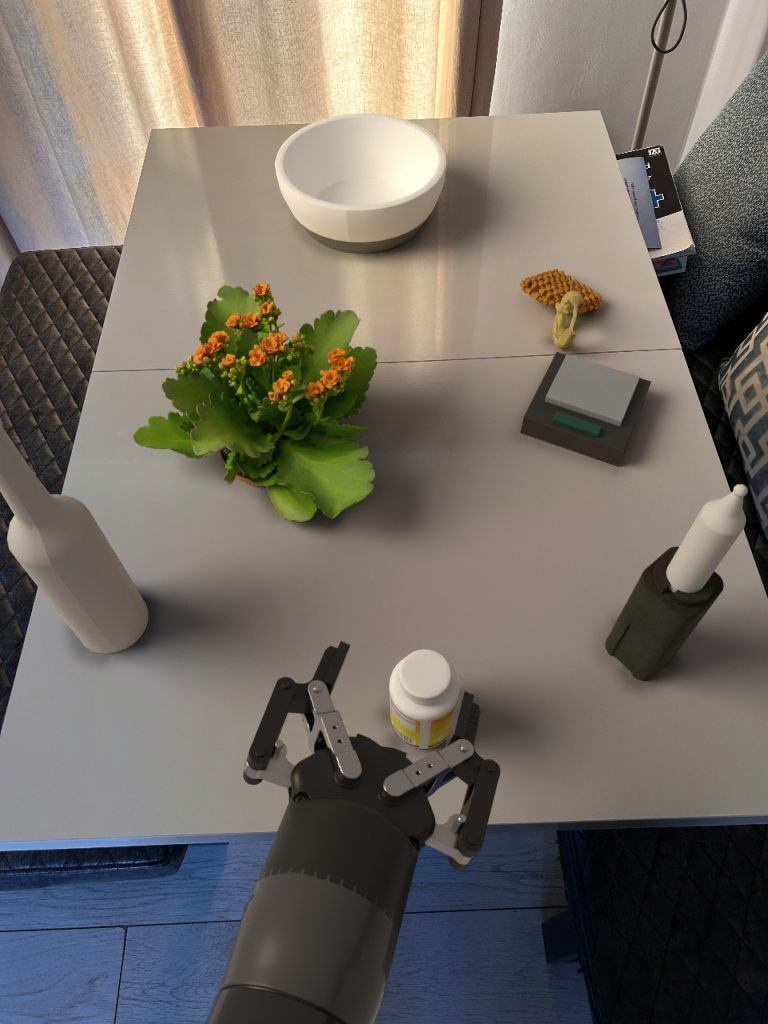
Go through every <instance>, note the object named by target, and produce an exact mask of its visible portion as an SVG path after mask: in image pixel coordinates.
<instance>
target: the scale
mask: <svg viewBox="0 0 768 1024" xmlns="http://www.w3.org/2000/svg"><path fill="white" fill-rule="evenodd" d="M651 384H652V381H651V380H648V379H645V378H642V377H641V376H638V375H635V374H632V373H630V372H626V371H622V370H620V369H617V368H613V367H610V366H607V365H603V364H600V363H597V362H595V361H591V360H588V359H584V358H581V357H578V356H575V355H571V354H568V353H566V354H565V353H563V352H559V351H556V352H555V354H554V355H553V358H552V360H551V362H550V364H549V366H548V368H547V370H546V372H545V374H544V376H543V378H542V379H541V382H540V383H539V386H538V388H537V389H536V392H535V394H534V396H533V398H532V400H531V401H530V403H529V405H528V408H527V410H526V412H525V413H524V415H523V418H522V423H521V428H520V434H523V435H525V436H528V437H531V438H534V439H537V440H540V441H543V442H545V443H549V444H552V445H555V446H557V447H560V448H563V449H567V450H569V451H572V452H575V453H577V454H581V455H583V456H586V457H589V458H591V459H595V460H598V461H600V462H603V463H606V464H609V465H612V466H615V467H619V465H620V463H621V460H622V458H623V455H624V452H625V450H626V447H627V444H628V442H629V441H630V440H629V439H630V438H631V435H632V432H633V430H634V427H635V425H636V422H637V420H638V417H639V414H640V413H641V409H642V407H643V404H644V402H645V400H646V396H647V395H648V392H649V389H650V386H651Z"/></svg>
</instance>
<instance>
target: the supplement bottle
mask: <svg viewBox="0 0 768 1024" xmlns="http://www.w3.org/2000/svg"><path fill="white" fill-rule="evenodd" d="M460 683H461V682H460V679H459V675H458V673H457V671H456V669H455V667H454V666H453V665H452V664H451V663H450V661H448V660H447V658H446V657H445V656H443V655H442V654H441V653H440V652H437V651H435V650H432V649H426V648H424V649H423V648H422V649H418V650H414V651H413V652H411V653H409V654H408V655H406V656H405V657H404V658H402V659H401V660H400V661H399V662H398V663H397V664H396V665H395V666H394V668H393V670H392V672H391V674H390V677H389V683H388V694H389V717H390V723H391V727H392V730H393V732H394V733H395V735H396V737H397V738H398V739H399V740H400V741H401V742H403V743H404V744H405V745H407V746H408V747H411V748H414V749H420V750H426V749H432V748H435V747H437V746H439V745H441V744H442V743H444V742H446V739H447V735H448V731H449V727H450V723H451V719H452V715H453V711H454V708H455V706H456V703H457V701H458V700H459V698H460V694H461V693H460V691H461V684H460Z"/></svg>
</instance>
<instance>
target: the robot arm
mask: <svg viewBox="0 0 768 1024" xmlns="http://www.w3.org/2000/svg"><path fill="white" fill-rule="evenodd" d="M350 648H351V644H350V643H347V642H345V641H343V640H340V641H339V644H338V647H335V646H334V645H329V646H328V647H327V648H325V649H324V652H323V654H322V657H321V659H320V661H319V662H318V665H317V667H316V670H315V672H314V674H313V677H312V678H311V679H310V680H309V681H308V682H304V683H301V682H295V680H294V679H293V678H291V677H288V676H282V677H280V678H278V679H277V681H276V683H275V685H274V688H273V690H272V692H271V694H270V698H269V699H268V702H267V705H266V707H265V709H264V712H263V715H262V717H261V720H260V722H259V725H258V727H257V730H256V732H255V735H254V737H253V740H252V742H251V745H250V747H249V750H248V752H247V757H246V760H245V764H244V768H243V772H242V777H243V778H242V779H243V781H244V782H245V783H247V784H248V785H251V786H256V785H260V784H261V783H262V782H263V781H265V782H266V781H267V782H269V783H271V784H274V785H278V786H280V787H284V788H285V789H287V792H288V803H287V806H286V809H285V811H284V814H283V815H282V819H281V821H280V823H279V826H278V828H277V831H276V833H275V836H274V838H273V840H272V842H271V845H270V847H269V850H268V853H267V854H266V858H265V860H264V863H263V864H262V867H261V870H260V872H259V875H258V878H257V880H256V882H255V885H254V887H253V890H252V892H251V895H250V897H249V899H248V901H247V903H245V906H243V910H242V913H241V916H240V921H239V924H238V927H237V928H236V932H235V934H234V936H233V939H232V942H231V945H230V949H229V952H228V956H227V960H226V963H225V967H224V971H223V974H222V977H221V981H220V984H219V986H218V990H217V993H216V995H215V998H214V1000H213V1002H212V1005H211V1007H210V1010H209V1012H208V1015H207V1017H206V1020H205V1023H204V1024H375V1021H376V1018H377V1015H378V1013H379V1010H380V1007H381V1006H382V1005H381V1004H382V1001H383V998H384V995H385V991H386V988H387V984H388V981H389V976H390V973H391V968H392V965H393V960H394V956H395V953H396V948H397V944H398V940H399V937H400V936H399V935H400V933H401V929H402V924H403V921H404V916H405V911H406V908H407V903H408V899H409V895H410V891H411V887H412V883H413V880H414V876H415V871H416V867H417V863H418V859H419V855H420V852H421V850H422V849H423V848H424V847H425V846H427V847H430V848H431V849H434V850H436V851H437V852H440V853H442V854H444V855H447V861H448V864H449V865H450V867H451V868H453V869H454V870H456V871H464V870H465V869H467V868H468V866H469V865H470V863H471V862H472V861H473V860H474V858H475V857H476V855H478V853H479V852H480V850H481V849H482V847H483V844H484V841H485V836H486V832H487V828H488V825H489V820H490V817H491V812H492V808H493V804H494V800H495V796H496V792H497V788H498V785H499V781H500V776H501V771H502V770H501V767H500V765H499V763H498V762H497V761H496V760H494V759H491V758H487V759H485V758H483V757H482V756H480V755H479V753H478V752H477V750H476V749H475V741H476V736H477V731H478V727H479V723H480V722H479V721H480V717H481V708H480V704H477V703H475V702H474V699H475V694H474V693H471V692H469V691H466V690H463V691H462V692H461V693H460V695H459V699H458V701H457V703H456V706H455V708H454V711H453V715H452V719H451V723H450V727H449V731H448V735H447V739H446V740H445V744H444V747H443V748H442V749H441V750H433V751H432V752H430V753H429V754H427V755H425V756H423V757H422V758H419V759H418V760H416V761H415V762H412V761H411V760H410V758H408V757H407V755H408V752H405V751H404V750H400V749H398V748H396V747H389V746H383V745H381V744H380V743H378V742H376V741H375V740H373V739H372V738H370V737H368V736H366V735H363V734H361V733H359V732H358V733H357V734H356V736H352V735H351V736H349V734H348V731H347V729H346V726H345V723H344V720H343V718H342V715H341V713H340V711H339V710H338V709H336V708H335V706H334V703H333V700H332V697H331V696H332V693H333V692H334V691H333V690H334V689H335V686H336V683H337V681H338V678H339V676H340V674H341V671H342V669H343V667H344V664H345V661H346V659H347V656H348V653H349V651H350ZM289 713H290V714H300V715H301V717H302V720H303V724H304V727H305V730H306V732H307V736H308V738H307V739H308V748H309V752H310V755H309V756H306V757H305V758H303V759H301V760H300V761H298V762H297V763H296V764H295V765H294V764H292V763H291V762H290V761H289V760H288V747H287V746H286V744H285V743H284V742H283V740H281V739H279V738H280V736H281V733H282V730H283V727H284V725H285V722H286V719H287V717H288V714H289ZM457 778H458V779H459V780H461V781H462V782H463V783H464V784H465V785H467V786H466V787H467V788H466V791H465V795H464V797H463V802H462V805H461V809H460V812H459V813H454V814H452V815H450V816H449V818H448V820H446V822H445V823H442V824H441V823H440V824H439V823H436V822H437V821H436V816H435V813H434V811H433V808H432V805H431V803H430V801H429V798H430V797H432V795H434V794H435V793H436V792H437V791H438V790H439V789H440V788H442V787H443V786H445V785H446V784H448V783H450V782H451V781H454V779H457Z"/></svg>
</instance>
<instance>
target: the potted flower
mask: <svg viewBox="0 0 768 1024" xmlns="http://www.w3.org/2000/svg"><path fill="white" fill-rule="evenodd" d="M251 288H252V294H251V295H250V293H249V291H248V290H245V289H243V288H242V287H241V286H240V285H239V286H237V285H236V286H234V287H232V286H231V285H228V284H223V285H222V286H220V287H219V289H218V291H217V294H216V296H217V297H218V298H219V299H220V300H218V299H217V298H216V297H215V298H213V300H209V301H207V304H206V309H207V310H206V311H205V313H204V320H205V321H204V322H202V323H201V327H200V331H199V334H200V336H199V337H198V340H199V341H200V344H199V346H197V347H196V350H195V352H194V353H193V354H190V355H189V356H187V362H186V361H184V360H181V361H180V362H179V363H180V364H178V365H174V367H173V370H174V372H175V373H176V379H175V378H174V377H171V378H170V377H165V378H164V381H163V382H162V384H161V389H162V391H163V393H164V397H165V398H166V399H168V400H170V401H171V402H170V405H171V406H172V407H173V408H175V409H176V410H177V411H178V412H177V411H176V412H174V411H168V413H167V418H166V417H164V416H161V415H156V416H150V417H149V418H148V419H147V425H143V426H140V427H138V428H137V430H136V431H135V432H134V433H133V436H132V439H133V441H134V442H135V443H136V444H137V445H138V446H140V447H145V448H149V449H153V450H170V451H173V452H175V453H178V454H180V455H184V456H185V457H187V458H189V459H195V460H200V459H203V458H206V457H208V455H212V454H213V452H218V453H220V457H221V460H222V462H223V464H224V465H225V466H224V468H225V469H226V473H225V475H224V476H223V480H224V481H225V482H226V483H227V486H229V485H232V484H233V483H234V481H235V478H236V479H239V480H240V481H242V482H244V483H246V484H248V485H250V486H253V487H261V488H262V487H264V488H265V491H266V494H267V495H268V498H269V500H270V502H271V504H272V506H273V508H274V509H275V511H276V513H277V514H278V515H279V516H280V517H281V518H282V519H283V520H284V521H289V522H294V521H296V522H301V523H304V522H307V521H310V520H311V519H313V517H314V516H315V514H316V512H317V511H318V509H319V510H321V512H322V513H323V514H324V515H325V516H326V517H328V518H329V519H335V518H336V517H337V516H339V515H340V514H341V513H342V512H343V511H344V510H346V509H348V508H349V507H352V506H353V505H355V504H358V503H359V502H361V501H363V500H365V499H366V498H367V497H368V496H369V495H370V494H372V493H373V490H374V487H375V485H374V484H373V483H372V482H373V481H374V480H375V478H376V473H375V469H374V468H373V467H374V464H373V463H372V462H371V461H369V460H367V458H368V456H369V453H370V452H369V447H368V446H363V447H362V446H361V447H360V444H359V443H358V442H356V441H353V440H350V439H352V438H357V439H358V438H361V437H363V436H364V435H363V434H362V433H364V432H365V431H368V430H369V428H368V427H367V426H363V427H361V426H358V425H353V424H350V423H345V424H343V423H342V424H341V423H340V421H341V419H342V418H343V419H348V418H352V417H356V416H357V415H359V410H362V409H363V403H364V402H366V400H367V395H366V393H368V391H369V389H370V382H371V381H372V379H373V377H374V375H375V370H376V368H377V366H378V361H377V359H378V354H377V349H375V348H373V347H371V346H368V345H367V346H365V347H364V348H363V347H362V346H355V347H352V346H351V345H350V343H351V342H352V339H353V337H354V334H355V331H356V330H357V328H358V327H359V325H360V322H361V318H359V317H358V314H356V312H355V311H353V310H350V309H345V310H343V311H341V309H337V310H336V312H335V311H334V310H333V309H327V310H326V311H324V312H323V313H321V314H320V316H319V317H315V318H314V320H313V325H312V324H310V323H308V322H305V323H303V324H302V325H301V327H300V328H299V330H298V331H294V332H293V335H292V336H291V339H290V337H288V336H287V334H286V333H284V332H282V331H280V330H279V329H280V328H281V327H283V326H284V325H285V322H282V323H280V324H278V323H277V321H278V319H279V316H281V315H282V314H283V312H282V311H281V309H280V307H277V306H276V302H275V300H274V299H275V298H274V296H273V293H272V291H271V284H270V283H267V282H266V281H265V282H262V283H261V284H259V283H258V284H255V285H254V287H251ZM272 325H273V326H274V329H273V327H272ZM287 341H288V343H286V342H287ZM284 343H285V344H284ZM179 412H180V413H182V415H181V414H180V413H179Z"/></svg>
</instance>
